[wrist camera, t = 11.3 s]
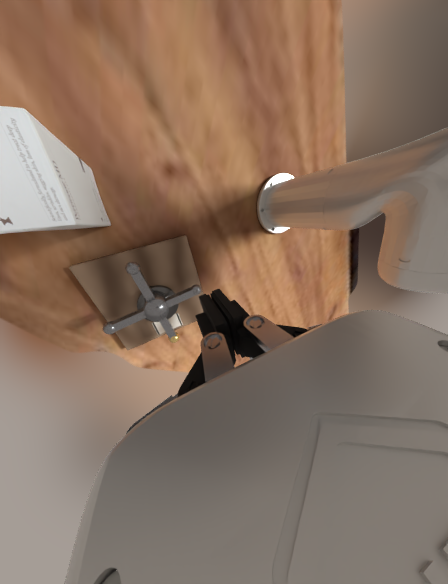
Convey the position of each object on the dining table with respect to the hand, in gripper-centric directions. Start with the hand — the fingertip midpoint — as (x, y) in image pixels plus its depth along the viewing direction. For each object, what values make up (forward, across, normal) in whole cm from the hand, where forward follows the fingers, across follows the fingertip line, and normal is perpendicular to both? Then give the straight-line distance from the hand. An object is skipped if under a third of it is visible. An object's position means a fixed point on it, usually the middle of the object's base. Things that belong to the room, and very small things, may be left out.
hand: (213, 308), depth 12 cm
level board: (+24, +8, +7) cm, 26 cm away
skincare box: (+24, +11, -12) cm, 29 cm away
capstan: (+23, +8, +7) cm, 25 cm away
